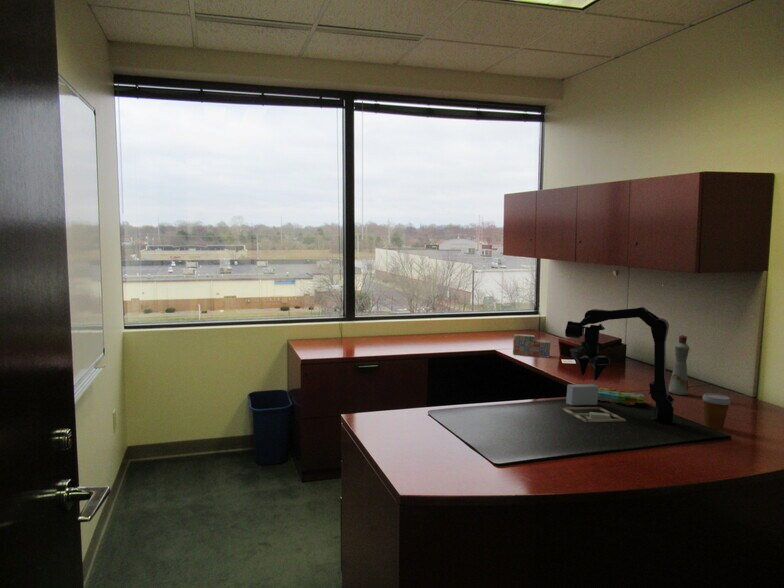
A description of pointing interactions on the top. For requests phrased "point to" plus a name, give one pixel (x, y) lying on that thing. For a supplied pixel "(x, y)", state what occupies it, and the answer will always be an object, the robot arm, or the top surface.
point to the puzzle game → (620, 396)
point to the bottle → (680, 368)
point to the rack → (588, 414)
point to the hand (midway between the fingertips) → (589, 377)
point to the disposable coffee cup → (715, 410)
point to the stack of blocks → (530, 346)
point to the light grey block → (582, 394)
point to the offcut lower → (592, 418)
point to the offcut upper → (599, 415)
